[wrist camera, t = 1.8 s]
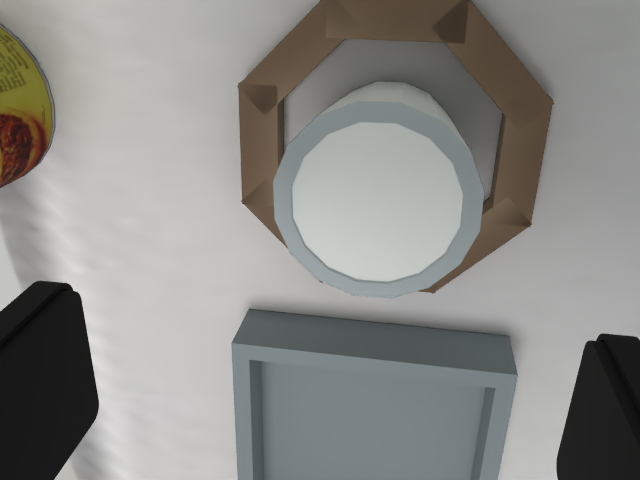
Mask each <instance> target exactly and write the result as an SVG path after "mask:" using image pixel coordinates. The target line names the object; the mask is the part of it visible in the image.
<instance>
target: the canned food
mask: <svg viewBox="0 0 640 480" xmlns="http://www.w3.org/2000/svg"><path fill="white" fill-rule="evenodd" d="M54 128H55V119H54V103H53V100H52V96H51V92H50V89H49V85H48V82H47V80H46V78H45V76H44V74H43V72H42V70H41V68H40V66H39V65H38V63H37V61H36V59H35V58H34V57H33V55H32V54H31V53H30V52H29V51H28V49H27V48H26V47H25V46H24V44H23V43H22V42H21V41H20V40H19V39H18V38H17V37H16V36H14V35H13V34H12V33H11V32H9V31H8V30H7V29H6V28H4V27H3V26H2V25H1V24H0V188H1V187H3V186H5V185H7V184H9V183H11V182H13V181H15V180H17V179H18V178H20V177H22V176H24V175H26V174H27V173H29V172H30V171H31V170H32V169H33V168H35V167H36V166H37V165H38V164H39V163H41V161H42V159H43V158H44V156H45V154H46V153H47V151H48V149H49V148H50V145H51V141H52V137H53V133H54Z"/></svg>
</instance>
